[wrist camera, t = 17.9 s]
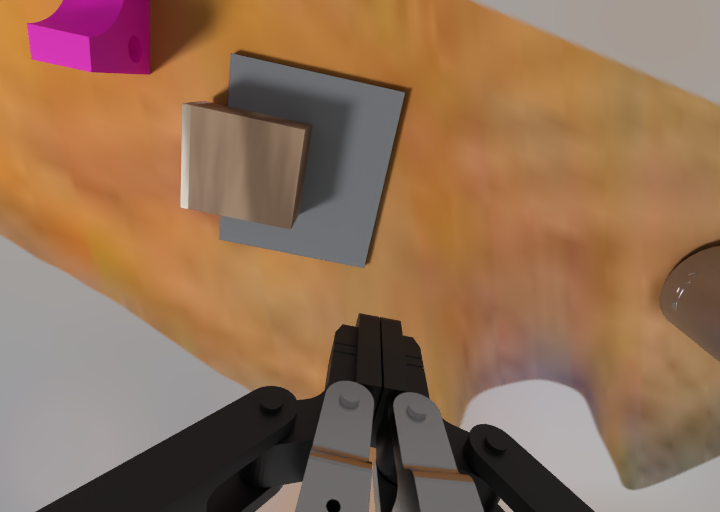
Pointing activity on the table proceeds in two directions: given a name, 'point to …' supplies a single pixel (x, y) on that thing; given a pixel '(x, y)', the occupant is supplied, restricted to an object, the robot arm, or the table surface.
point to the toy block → (95, 36)
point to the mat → (322, 157)
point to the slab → (243, 163)
